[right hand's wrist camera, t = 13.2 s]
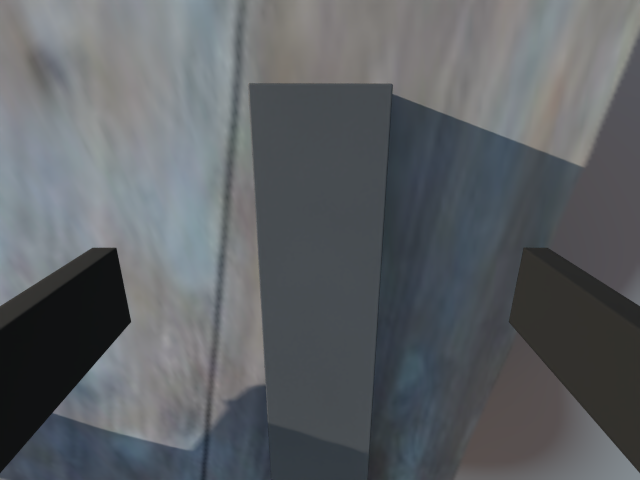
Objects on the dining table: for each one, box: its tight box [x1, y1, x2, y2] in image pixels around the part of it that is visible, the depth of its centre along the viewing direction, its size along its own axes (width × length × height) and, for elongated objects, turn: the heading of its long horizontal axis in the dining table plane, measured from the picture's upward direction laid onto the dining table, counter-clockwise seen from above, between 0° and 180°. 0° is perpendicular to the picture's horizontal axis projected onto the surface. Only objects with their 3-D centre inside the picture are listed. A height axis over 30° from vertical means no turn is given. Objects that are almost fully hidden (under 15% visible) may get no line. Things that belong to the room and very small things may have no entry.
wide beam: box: [248, 83, 393, 480], centre depth 40 cm, size 65×10×7 cm, turn 0°
